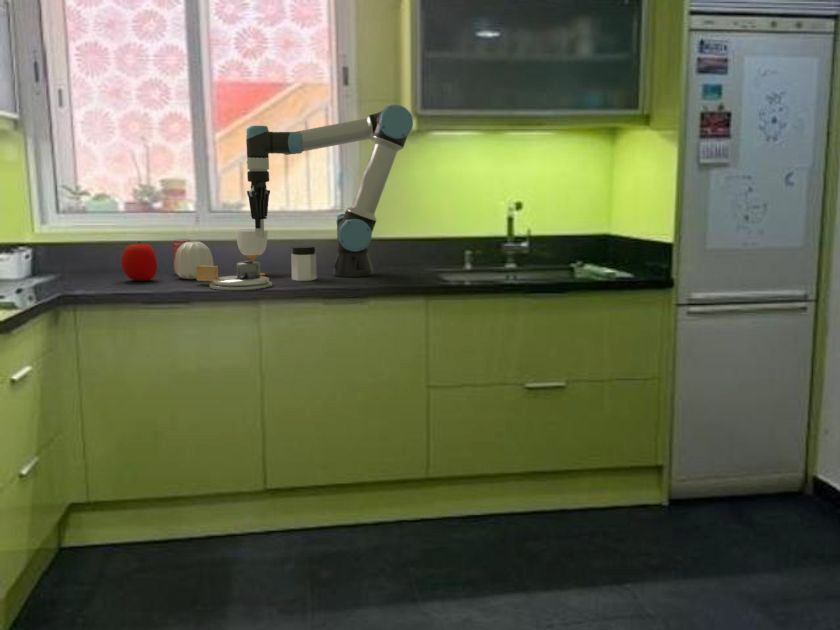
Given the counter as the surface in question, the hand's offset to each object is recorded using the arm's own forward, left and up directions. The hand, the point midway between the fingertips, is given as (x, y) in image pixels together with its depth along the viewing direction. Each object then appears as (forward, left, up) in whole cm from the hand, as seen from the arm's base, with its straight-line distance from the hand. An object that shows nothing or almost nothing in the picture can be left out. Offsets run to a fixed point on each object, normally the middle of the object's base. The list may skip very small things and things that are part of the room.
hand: (259, 237), depth 294 cm
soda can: (+38, -9, -16) cm, 42 cm away
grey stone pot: (0, +9, -13) cm, 16 cm away
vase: (+27, +1, -16) cm, 31 cm away
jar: (-13, -8, -16) cm, 22 cm away
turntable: (+3, +15, -14) cm, 21 cm away
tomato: (+41, +14, -16) cm, 46 cm away
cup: (+11, -14, -16) cm, 24 cm away
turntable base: (0, +15, -16) cm, 22 cm away
